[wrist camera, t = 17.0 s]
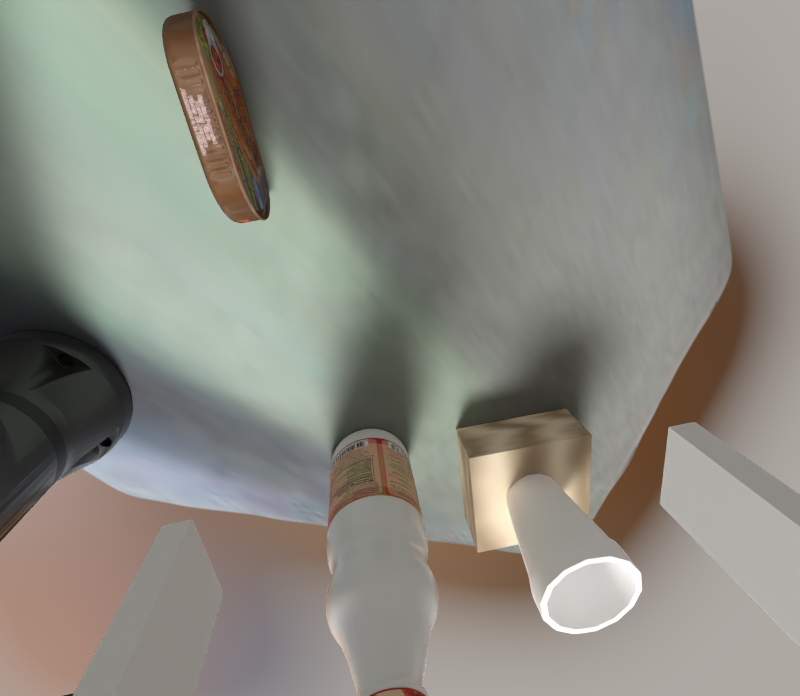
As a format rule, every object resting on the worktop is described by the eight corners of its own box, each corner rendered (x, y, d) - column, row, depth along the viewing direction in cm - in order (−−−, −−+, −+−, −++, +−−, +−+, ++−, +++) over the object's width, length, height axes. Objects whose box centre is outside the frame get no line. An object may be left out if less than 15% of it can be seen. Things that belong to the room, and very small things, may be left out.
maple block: (465, 516, 58) (477, 552, 52) (455, 428, 52) (469, 458, 47) (564, 496, 58) (588, 529, 53) (565, 408, 53) (591, 434, 48)
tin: (276, 215, 41) (261, 223, 33) (244, 221, 41) (220, 231, 33) (224, 28, 35) (190, -15, 28) (186, 35, 35) (141, -6, 27)
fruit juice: (417, 434, 52) (490, 687, 26) (394, 495, 55) (439, 777, 29) (342, 418, 50) (339, 676, 24) (322, 483, 53) (301, 774, 27)
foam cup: (584, 495, 51) (659, 593, 39) (522, 540, 52) (576, 647, 40) (542, 447, 47) (609, 538, 35) (477, 497, 49) (520, 600, 37)
